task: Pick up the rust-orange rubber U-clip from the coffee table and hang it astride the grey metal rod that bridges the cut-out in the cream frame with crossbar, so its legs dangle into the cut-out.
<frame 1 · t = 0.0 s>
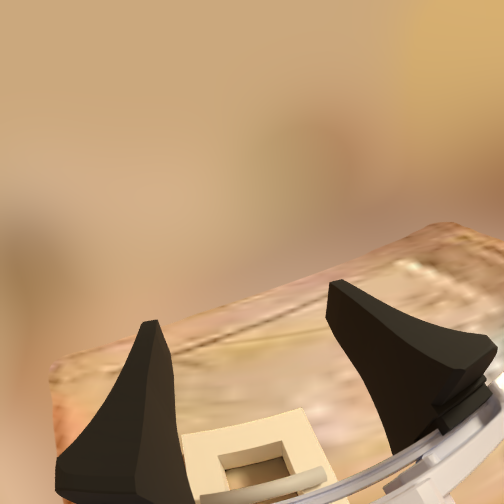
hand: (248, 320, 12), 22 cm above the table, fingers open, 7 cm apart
cream frame with crossbar: (267, 503, 19), on the table
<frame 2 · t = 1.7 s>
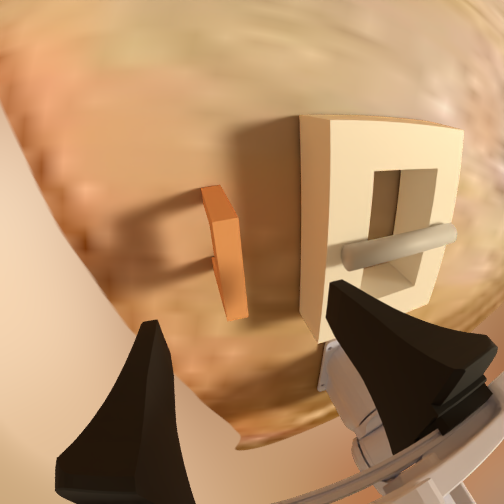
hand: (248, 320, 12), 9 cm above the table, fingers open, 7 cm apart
clip: (216, 229, 19), on the table
cream frame with crossbar: (369, 216, 22), on the table
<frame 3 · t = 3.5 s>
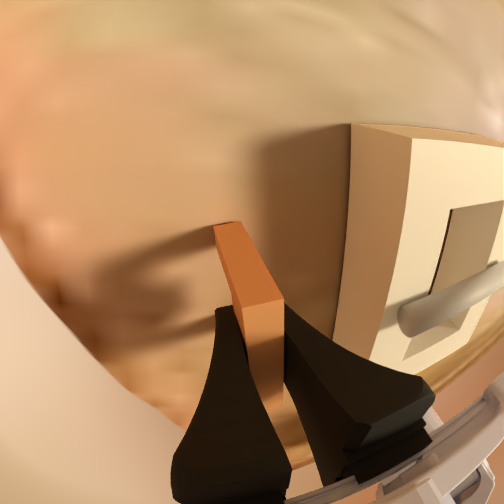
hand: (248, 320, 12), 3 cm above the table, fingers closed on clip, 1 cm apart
clip: (234, 280, 14), on the table, touching gripper
cream frame with crossbar: (418, 252, 17), on the table
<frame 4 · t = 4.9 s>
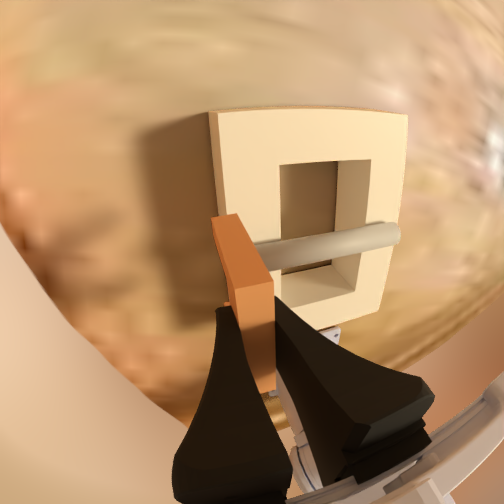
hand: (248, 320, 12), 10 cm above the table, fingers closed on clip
clip: (230, 270, 15), point 6 cm above the table, touching gripper
cream frame with crossbar: (300, 215, 21), on the table
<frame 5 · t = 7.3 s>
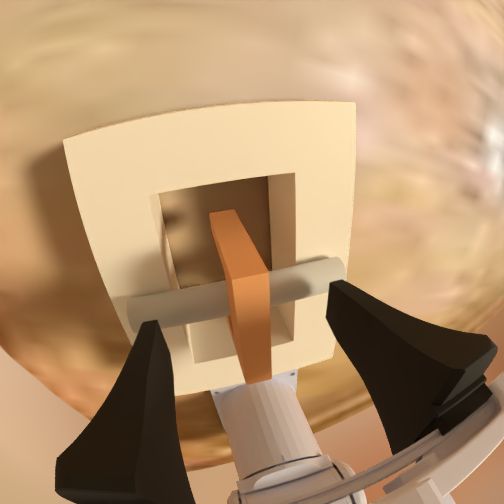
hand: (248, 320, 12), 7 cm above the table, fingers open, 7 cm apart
clip: (228, 263, 15), point 2 cm above the table, touching cream frame with crossbar
cream frame with crossbar: (221, 246, 17), on the table
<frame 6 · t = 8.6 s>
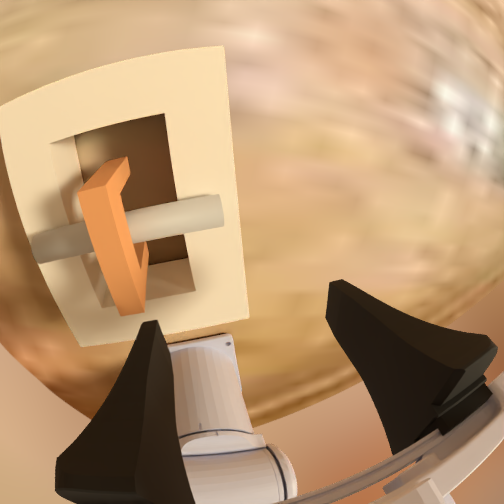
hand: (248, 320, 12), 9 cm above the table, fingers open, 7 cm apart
clip: (127, 209, 15), point 2 cm above the table, touching cream frame with crossbar
cream frame with crossbar: (132, 198, 17), on the table
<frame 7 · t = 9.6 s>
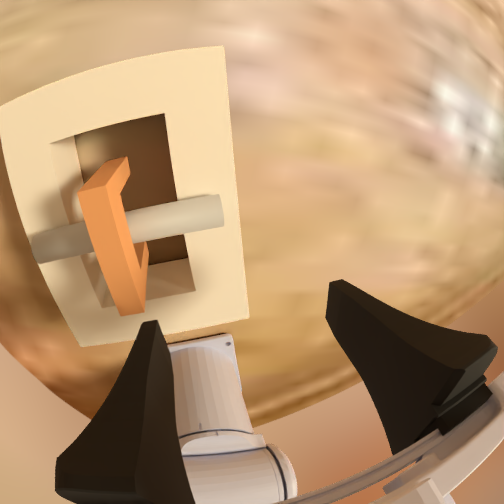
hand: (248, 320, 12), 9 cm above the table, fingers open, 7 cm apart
clip: (127, 209, 15), point 2 cm above the table, touching cream frame with crossbar
cream frame with crossbar: (132, 198, 17), on the table
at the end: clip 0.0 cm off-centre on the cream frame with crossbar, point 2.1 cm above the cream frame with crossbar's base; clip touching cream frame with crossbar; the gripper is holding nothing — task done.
